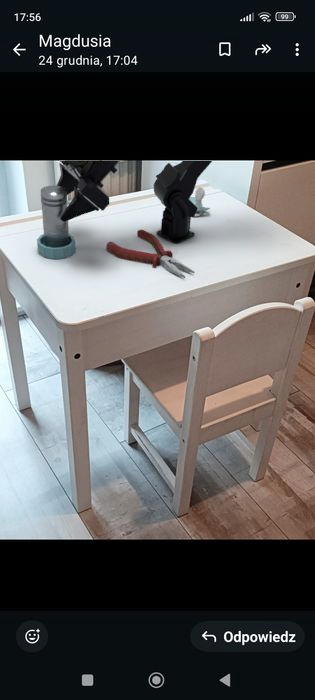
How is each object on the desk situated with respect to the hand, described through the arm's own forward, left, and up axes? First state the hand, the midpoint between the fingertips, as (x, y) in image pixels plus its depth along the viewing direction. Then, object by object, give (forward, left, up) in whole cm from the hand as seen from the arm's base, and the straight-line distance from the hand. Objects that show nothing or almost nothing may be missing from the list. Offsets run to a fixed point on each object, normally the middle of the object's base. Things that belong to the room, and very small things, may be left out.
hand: (56, 210), depth 117 cm
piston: (0, 0, -9) cm, 9 cm away
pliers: (-11, +15, -10) cm, 21 cm away
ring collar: (0, 0, -9) cm, 9 cm away
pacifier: (-38, +6, -9) cm, 39 cm away
